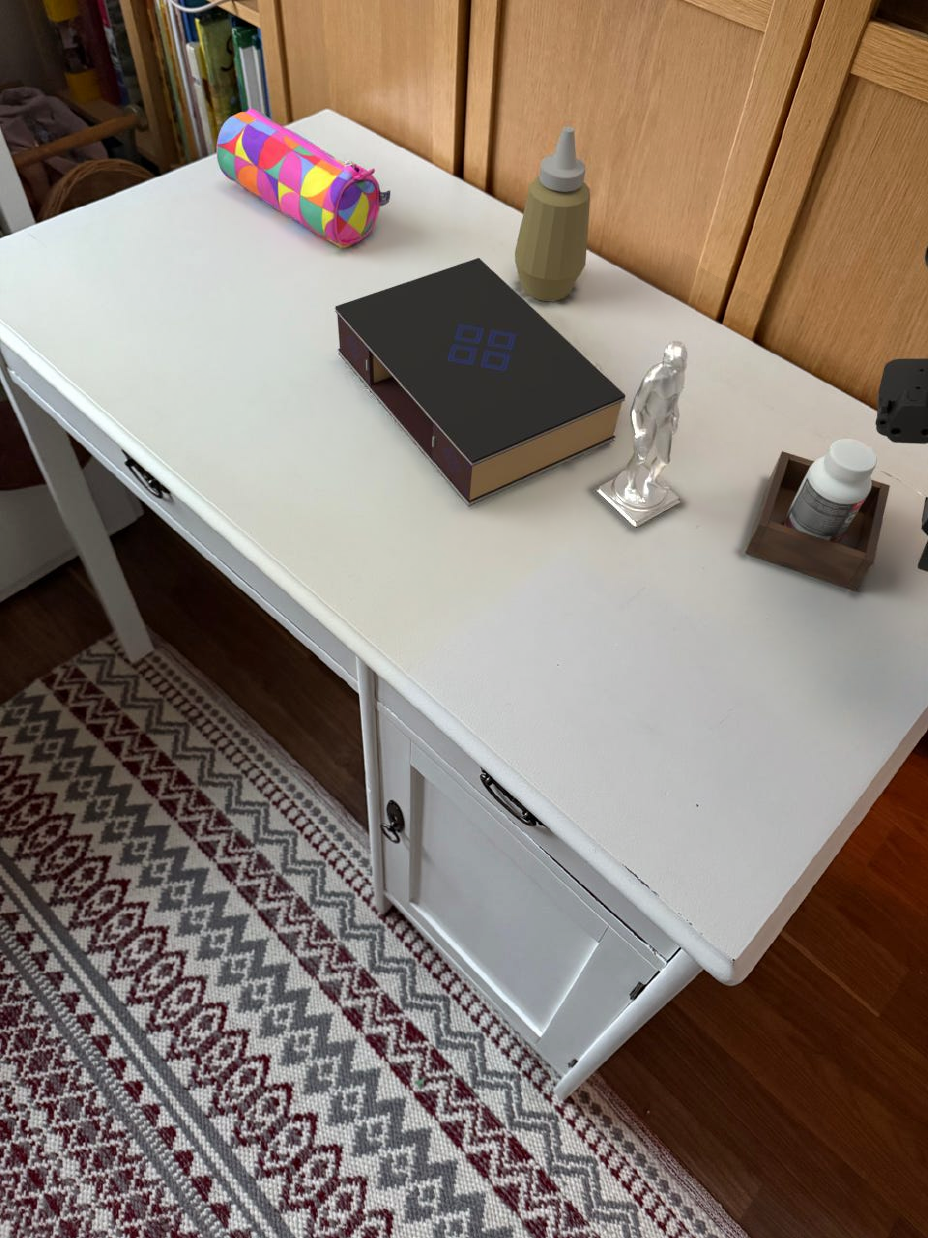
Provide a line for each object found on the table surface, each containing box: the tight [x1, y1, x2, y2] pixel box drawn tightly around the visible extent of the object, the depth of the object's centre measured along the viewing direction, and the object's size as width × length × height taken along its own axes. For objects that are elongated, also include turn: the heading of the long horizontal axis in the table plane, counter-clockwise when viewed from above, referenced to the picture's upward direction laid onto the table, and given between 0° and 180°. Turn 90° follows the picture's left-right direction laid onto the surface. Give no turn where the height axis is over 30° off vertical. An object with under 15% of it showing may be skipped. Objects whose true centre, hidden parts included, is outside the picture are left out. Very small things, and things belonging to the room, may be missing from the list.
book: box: [334, 257, 626, 508], centre depth 90 cm, size 17×25×7 cm
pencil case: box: [215, 108, 391, 249], centre depth 108 cm, size 22×9×9 cm, turn 51°
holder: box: [744, 450, 891, 592], centre depth 83 cm, size 10×10×4 cm
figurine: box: [595, 340, 689, 528], centre depth 79 cm, size 8×7×18 cm
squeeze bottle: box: [514, 125, 591, 302], centre depth 98 cm, size 8×8×18 cm
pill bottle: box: [784, 438, 878, 544], centre depth 80 cm, size 5×5×10 cm
